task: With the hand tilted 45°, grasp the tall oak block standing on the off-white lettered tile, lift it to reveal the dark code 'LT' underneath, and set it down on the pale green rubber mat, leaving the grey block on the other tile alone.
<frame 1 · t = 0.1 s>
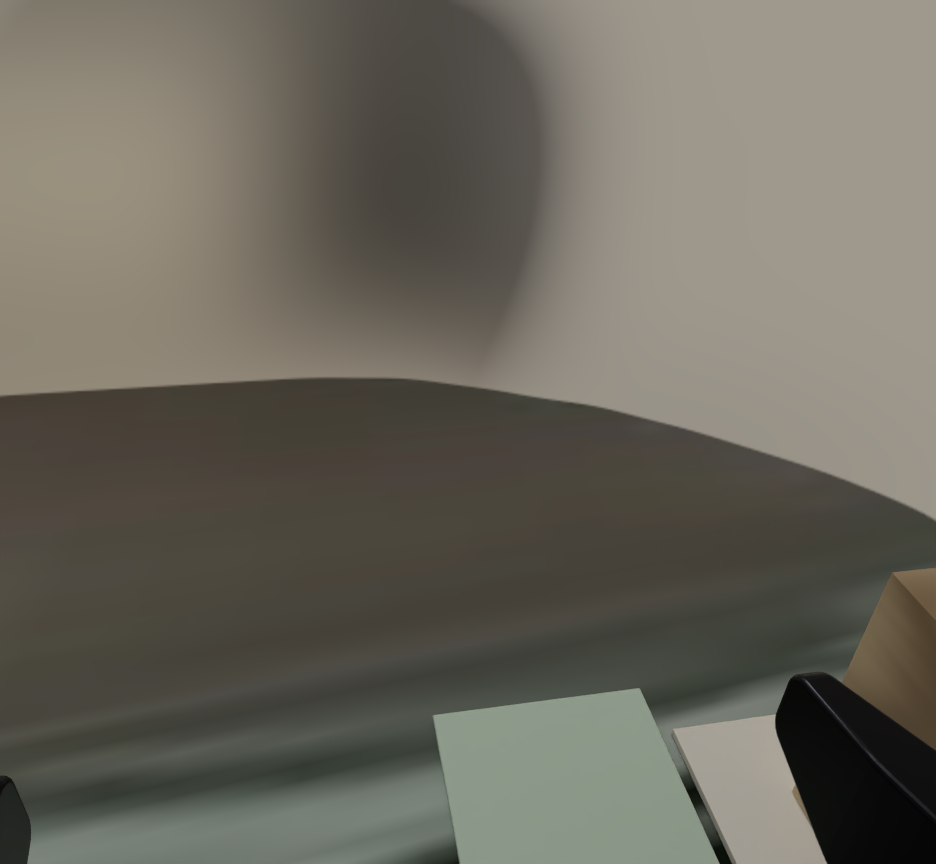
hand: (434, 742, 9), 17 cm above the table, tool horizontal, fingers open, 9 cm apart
green mat: (569, 803, 26), on the table
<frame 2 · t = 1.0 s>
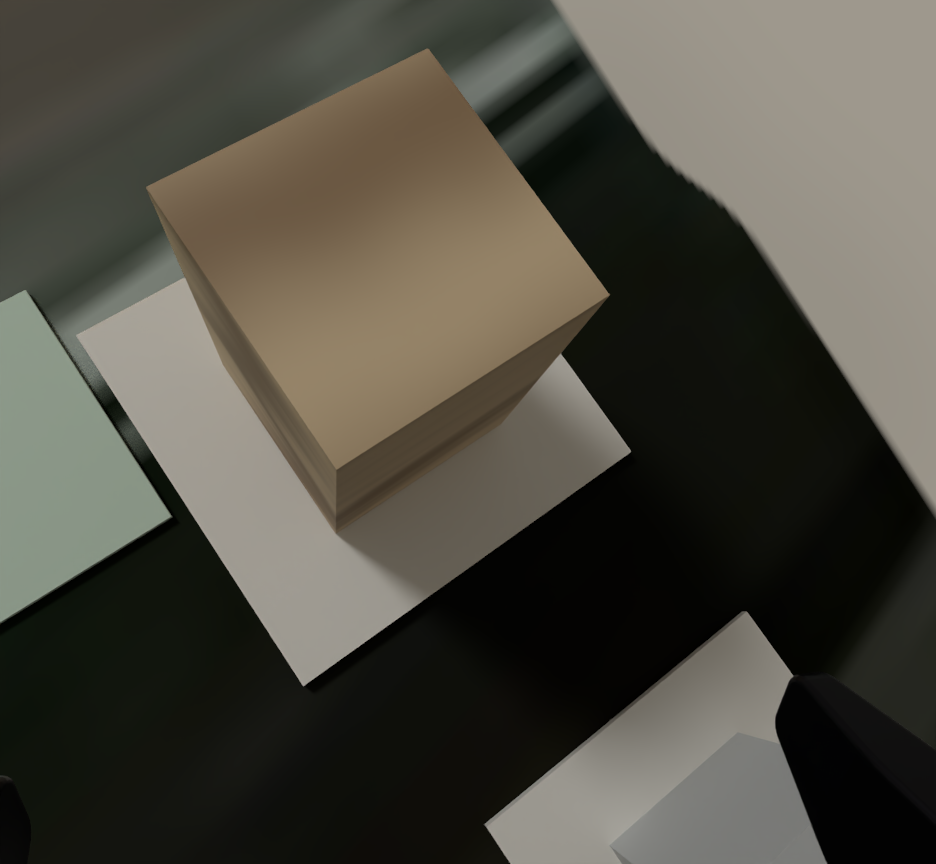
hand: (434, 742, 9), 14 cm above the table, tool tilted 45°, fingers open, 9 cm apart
code tile: (364, 398, 24), on the table
grey block: (727, 862, 22), resting on plain tile
plain tile: (722, 859, 23), on the table
oak block: (365, 395, 24), resting on code tile
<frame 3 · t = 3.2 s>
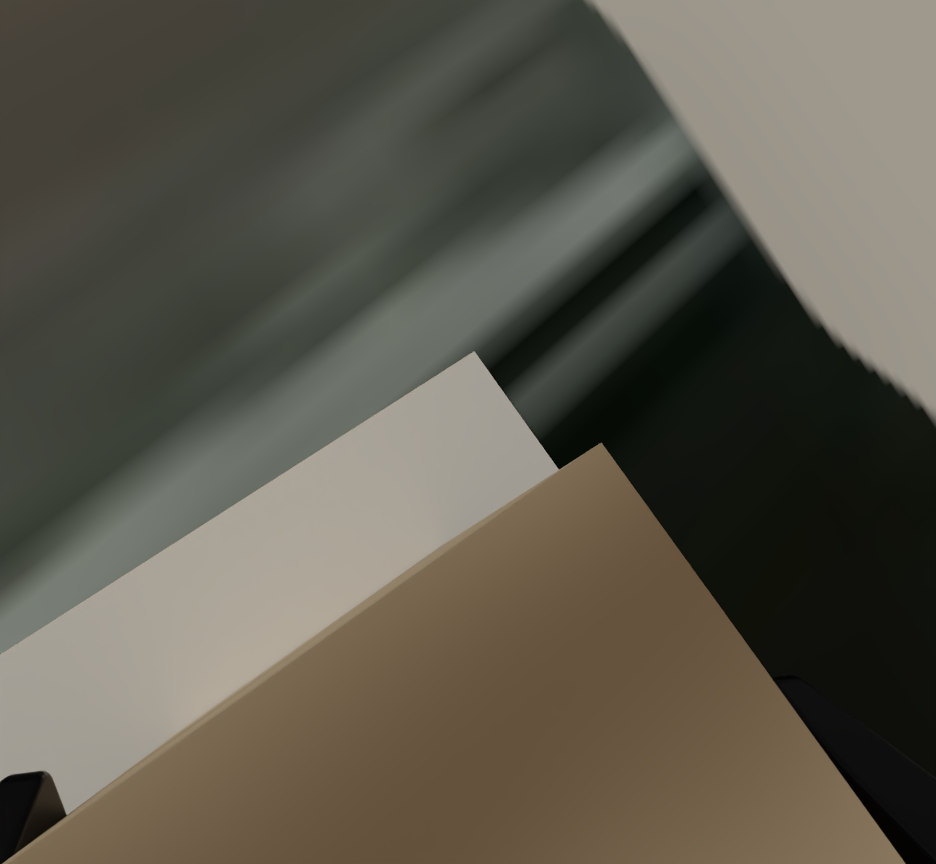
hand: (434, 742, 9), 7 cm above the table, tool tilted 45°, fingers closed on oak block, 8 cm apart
code tile: (401, 765, 15), on the table
oak block: (403, 768, 15), resting on code tile, touching gripper
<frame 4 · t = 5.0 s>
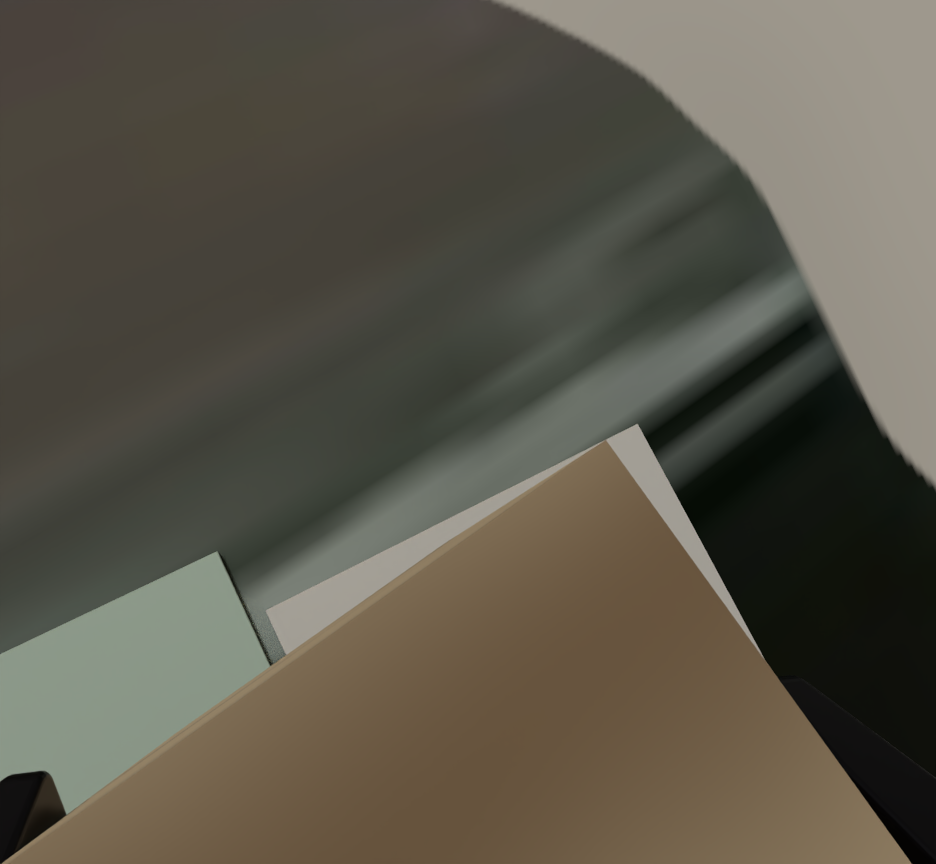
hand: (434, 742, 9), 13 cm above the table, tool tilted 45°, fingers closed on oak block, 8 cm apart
green mat: (133, 765, 20), on the table
code tile: (558, 704, 22), on the table
oak block: (404, 766, 15), point 7 cm above the table, touching gripper
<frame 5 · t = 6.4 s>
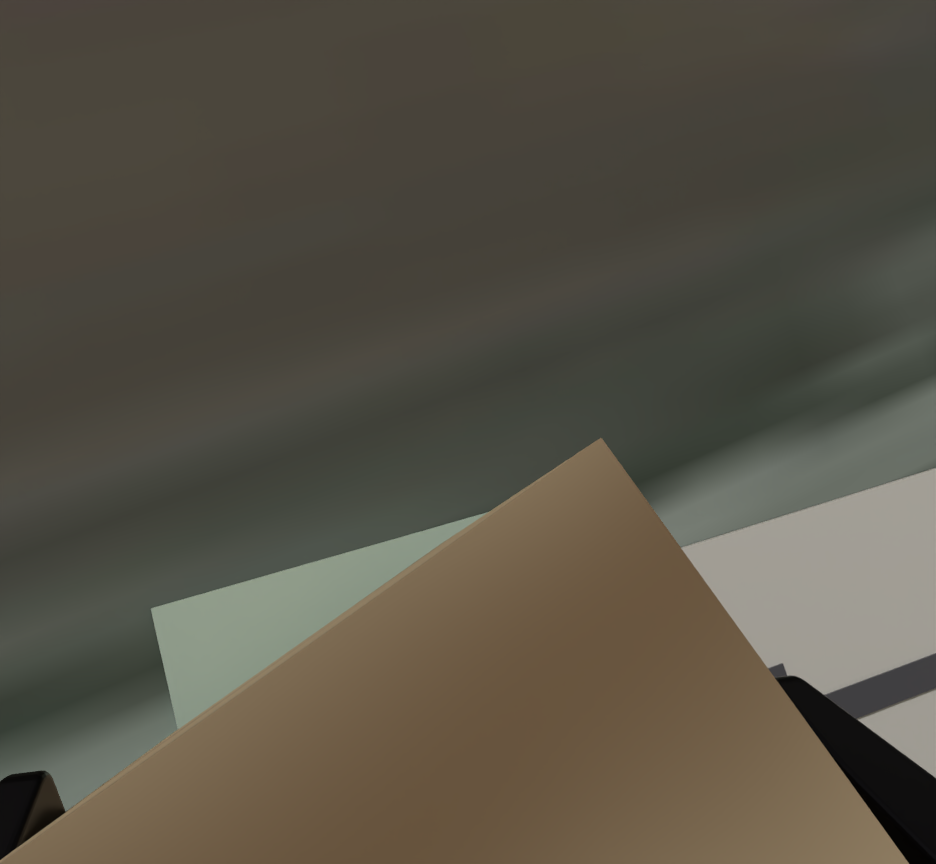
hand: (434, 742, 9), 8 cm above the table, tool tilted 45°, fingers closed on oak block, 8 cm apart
green mat: (392, 740, 17), on the table
code tile: (881, 764, 18), on the table
oak block: (403, 765, 15), point 2 cm above the table, touching gripper
when the fingers open (8 cm above the table, at t = 7.1 s): oak block drops 1 cm, resting on green mat.
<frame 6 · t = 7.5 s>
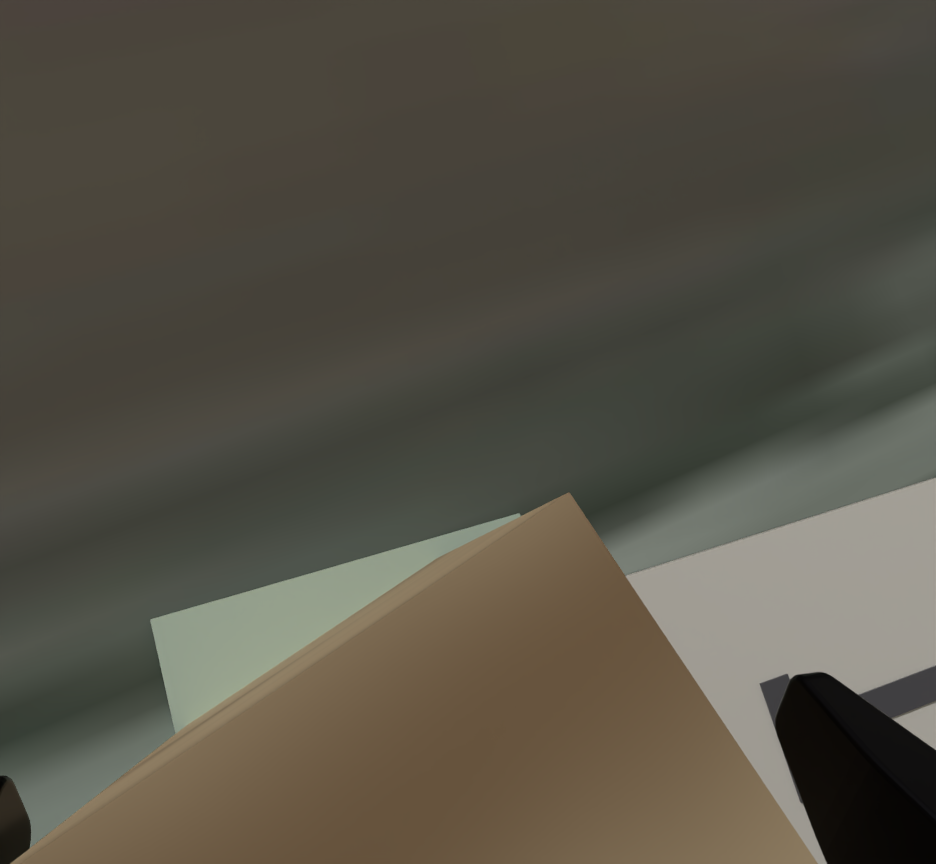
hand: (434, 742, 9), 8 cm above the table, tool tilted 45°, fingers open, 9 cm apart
green mat: (394, 752, 16), on the table
code tile: (888, 776, 18), on the table
oak block: (395, 763, 16), resting on green mat
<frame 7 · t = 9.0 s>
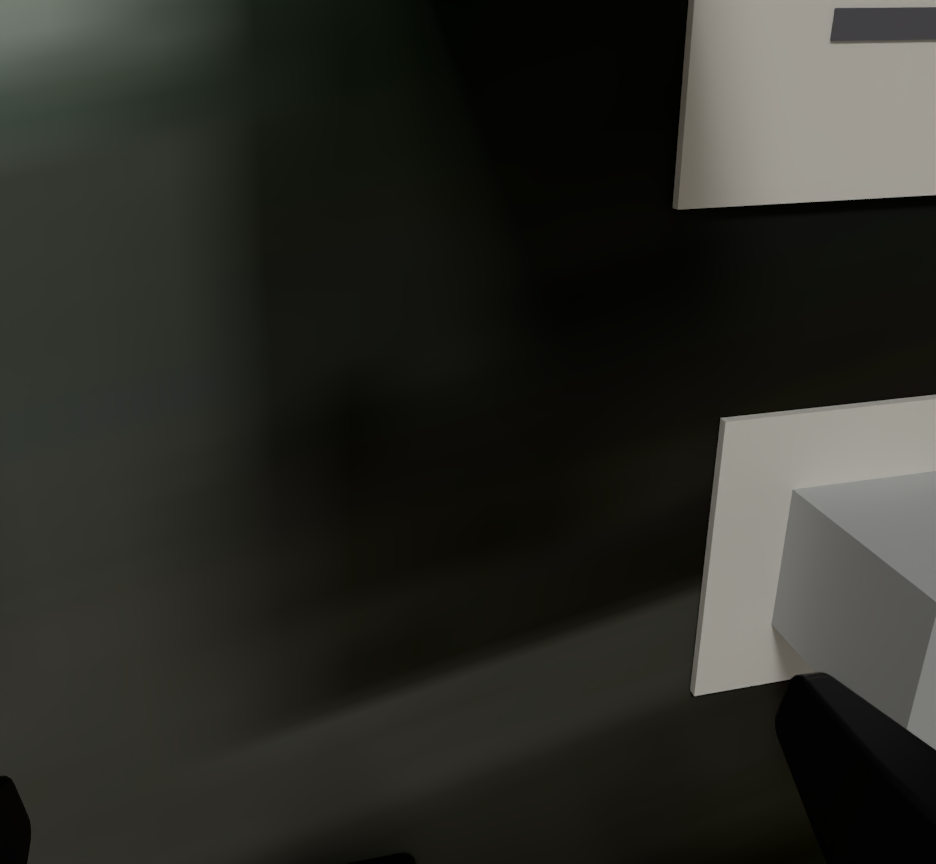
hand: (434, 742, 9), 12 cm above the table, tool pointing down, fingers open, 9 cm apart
grey block: (851, 549, 26), resting on plain tile
plain tile: (846, 544, 26), on the table
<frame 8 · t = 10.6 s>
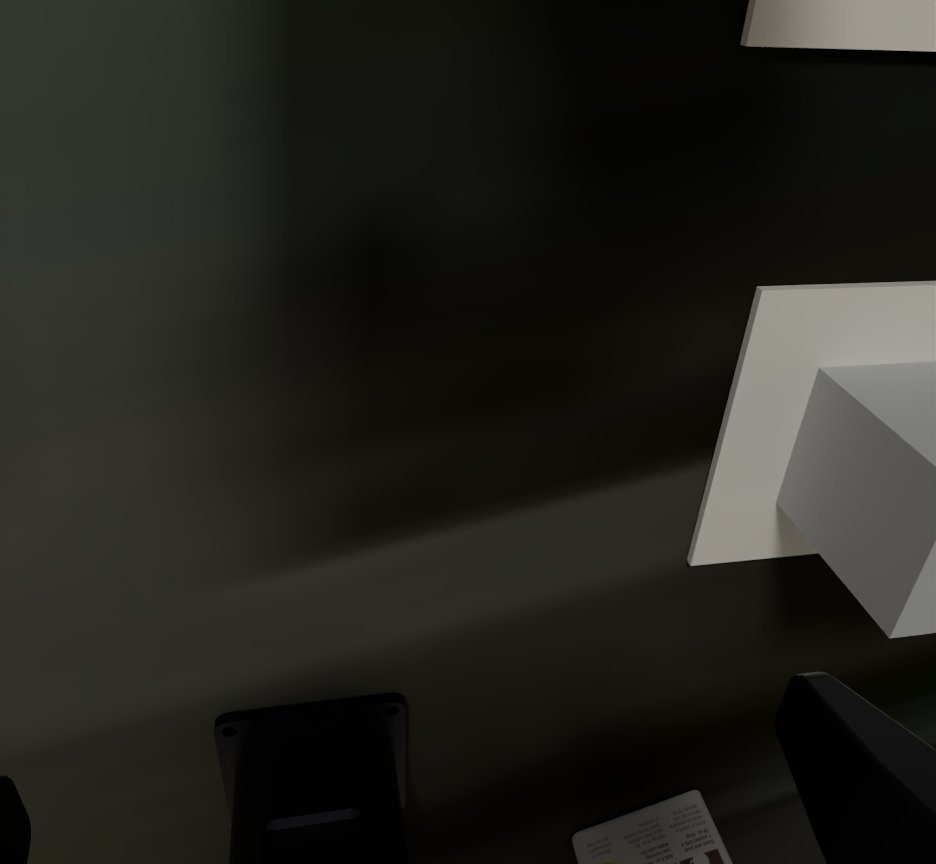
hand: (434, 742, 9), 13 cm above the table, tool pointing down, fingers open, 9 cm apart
grey block: (867, 433, 25), resting on plain tile
coffee box: (647, 852, 38), on the table
plain tile: (861, 428, 25), on the table
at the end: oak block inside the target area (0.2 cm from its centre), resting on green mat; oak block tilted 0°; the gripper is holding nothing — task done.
